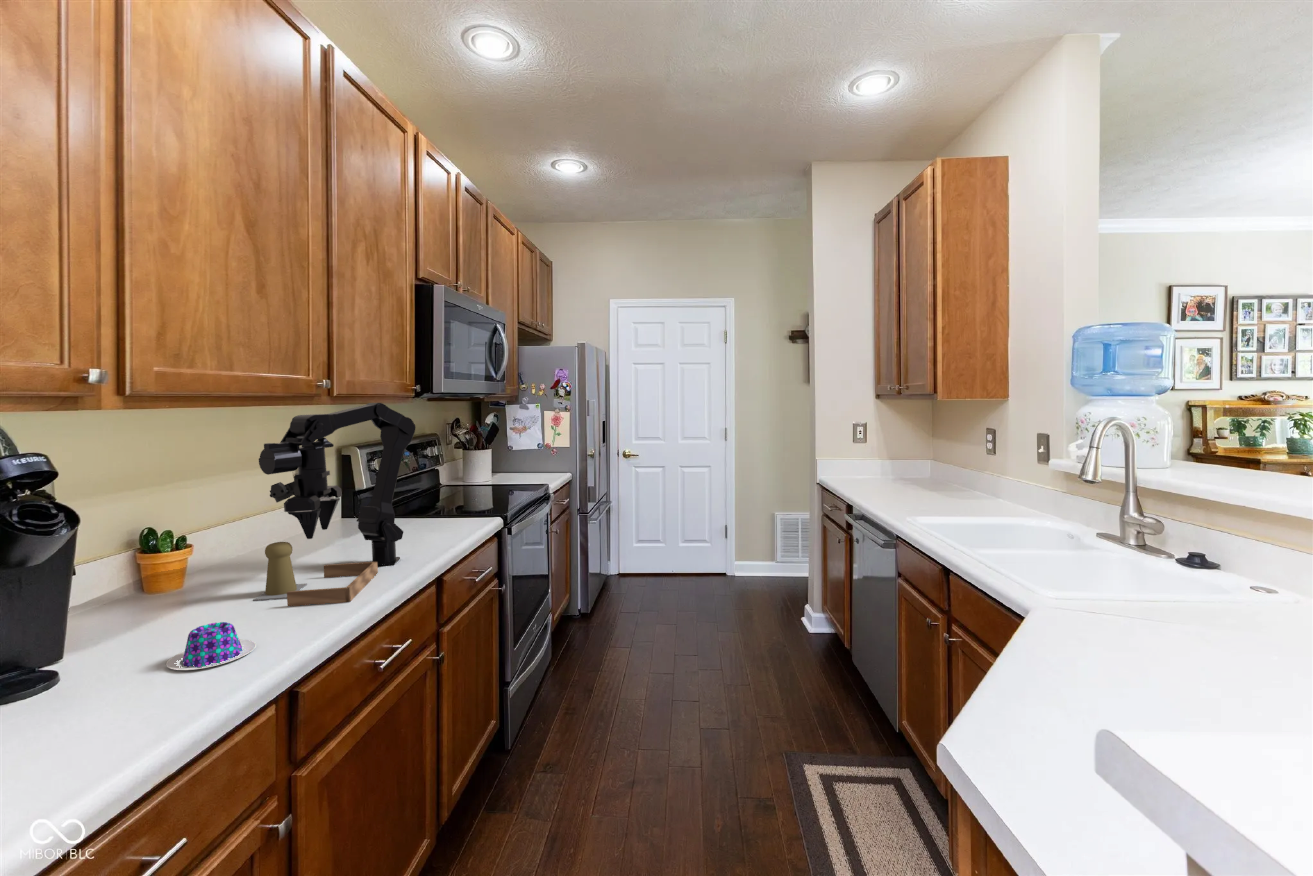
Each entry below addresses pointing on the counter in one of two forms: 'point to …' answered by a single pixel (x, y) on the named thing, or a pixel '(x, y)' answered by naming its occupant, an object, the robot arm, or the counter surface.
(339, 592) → the wooden u-shaped frame
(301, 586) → the grey mat
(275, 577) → the cork
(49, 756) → the counter surface
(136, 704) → the counter surface
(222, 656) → the patterned hat
